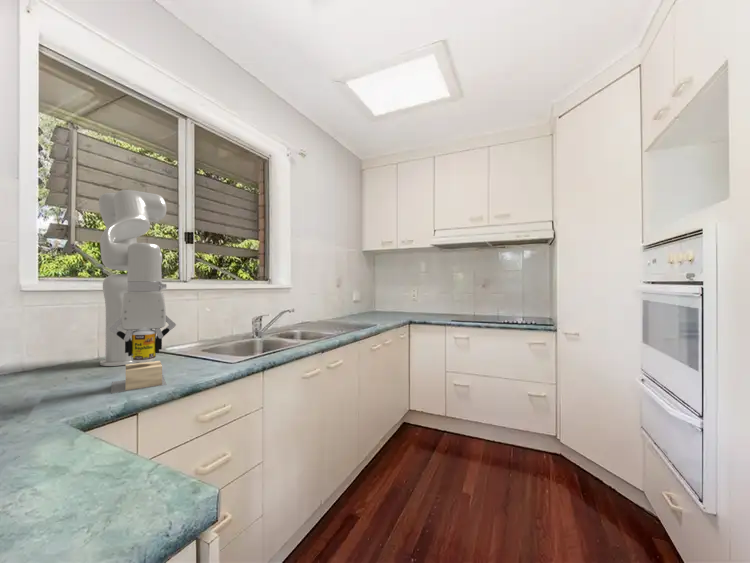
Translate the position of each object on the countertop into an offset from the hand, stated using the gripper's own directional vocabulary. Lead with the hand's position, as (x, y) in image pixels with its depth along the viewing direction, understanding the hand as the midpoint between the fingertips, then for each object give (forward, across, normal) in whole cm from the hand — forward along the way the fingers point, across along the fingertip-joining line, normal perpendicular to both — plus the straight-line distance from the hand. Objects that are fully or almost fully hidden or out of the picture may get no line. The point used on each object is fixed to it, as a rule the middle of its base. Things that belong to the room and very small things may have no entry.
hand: (143, 353), depth 93 cm
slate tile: (+9, +1, -1) cm, 9 cm away
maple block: (+8, 0, 0) cm, 8 cm away
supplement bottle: (+2, 0, 0) cm, 2 cm away
